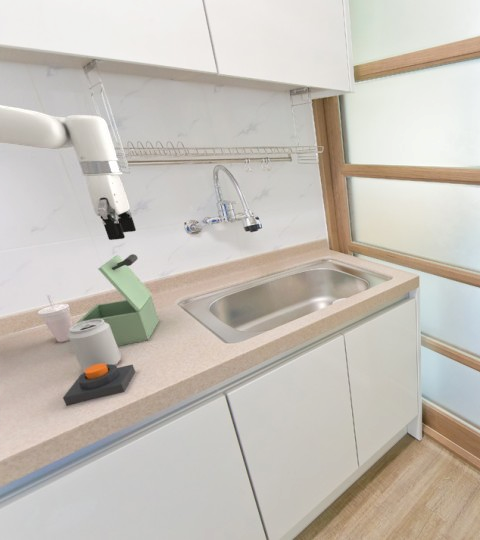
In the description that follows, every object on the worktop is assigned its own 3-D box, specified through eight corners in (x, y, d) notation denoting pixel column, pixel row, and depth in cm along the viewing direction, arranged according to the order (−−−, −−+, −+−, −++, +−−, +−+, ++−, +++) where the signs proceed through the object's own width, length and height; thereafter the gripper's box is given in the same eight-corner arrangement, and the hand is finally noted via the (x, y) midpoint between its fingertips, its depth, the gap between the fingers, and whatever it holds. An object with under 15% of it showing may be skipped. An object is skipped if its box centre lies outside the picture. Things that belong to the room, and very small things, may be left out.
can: (84, 379, 78) (66, 335, 74) (81, 367, 83) (63, 324, 79) (124, 365, 83) (109, 322, 79) (119, 354, 88) (104, 313, 84)
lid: (97, 268, 85) (121, 258, 86) (115, 256, 96) (136, 246, 97) (137, 311, 91) (158, 301, 92) (149, 295, 102) (168, 286, 103)
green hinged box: (87, 351, 89) (76, 323, 86) (105, 330, 100) (95, 304, 97) (148, 340, 94) (139, 312, 91) (159, 321, 105) (151, 296, 102)
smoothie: (54, 346, 92) (34, 301, 88) (47, 340, 95) (27, 296, 91) (84, 336, 97) (66, 292, 93) (76, 330, 101) (59, 288, 96)
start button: (84, 381, 71) (81, 374, 71) (91, 372, 75) (88, 365, 74) (104, 376, 73) (102, 370, 72) (111, 367, 76) (108, 361, 75)
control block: (66, 406, 70) (59, 390, 68) (83, 383, 76) (76, 369, 75) (124, 392, 73) (118, 377, 72) (135, 371, 80) (130, 357, 79)
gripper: (96, 168, 89) (117, 230, 95) (66, 171, 74) (92, 244, 80) (130, 167, 92) (148, 227, 98) (107, 169, 77) (130, 240, 83)
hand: (123, 235), depth 89 cm, fingers open, 9 cm apart
